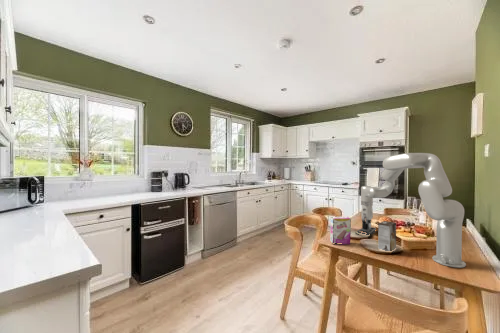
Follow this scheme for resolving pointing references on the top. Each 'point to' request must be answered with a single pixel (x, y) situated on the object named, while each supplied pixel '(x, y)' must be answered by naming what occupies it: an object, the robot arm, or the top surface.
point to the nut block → (368, 227)
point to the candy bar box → (340, 230)
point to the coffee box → (387, 235)
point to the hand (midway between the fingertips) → (366, 227)
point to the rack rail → (367, 231)
